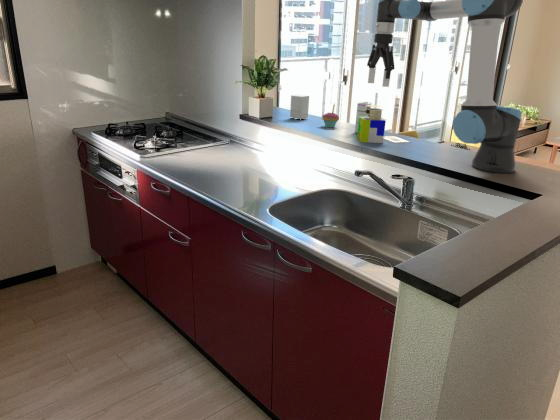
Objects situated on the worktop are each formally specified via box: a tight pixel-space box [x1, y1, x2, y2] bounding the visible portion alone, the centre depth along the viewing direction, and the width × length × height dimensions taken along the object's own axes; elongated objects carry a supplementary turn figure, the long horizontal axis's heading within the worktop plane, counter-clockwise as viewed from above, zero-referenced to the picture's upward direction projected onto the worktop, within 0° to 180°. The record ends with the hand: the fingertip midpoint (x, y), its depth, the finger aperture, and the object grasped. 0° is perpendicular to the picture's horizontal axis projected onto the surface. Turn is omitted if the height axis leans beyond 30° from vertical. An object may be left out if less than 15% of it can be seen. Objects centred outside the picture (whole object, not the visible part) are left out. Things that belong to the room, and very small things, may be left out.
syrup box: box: [354, 101, 372, 134], centre depth 236 cm, size 6×6×14 cm
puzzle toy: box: [356, 116, 387, 144], centre depth 219 cm, size 10×10×10 cm
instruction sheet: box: [383, 135, 410, 144], centre depth 225 cm, size 13×9×1 cm
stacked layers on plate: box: [360, 104, 387, 121], centre depth 217 cm, size 10×9×6 cm
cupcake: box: [321, 102, 340, 128], centre depth 245 cm, size 9×8×12 cm
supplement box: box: [289, 94, 310, 121], centre depth 263 cm, size 7×7×13 cm
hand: (378, 84), depth 212 cm, fingers open, 13 cm apart
